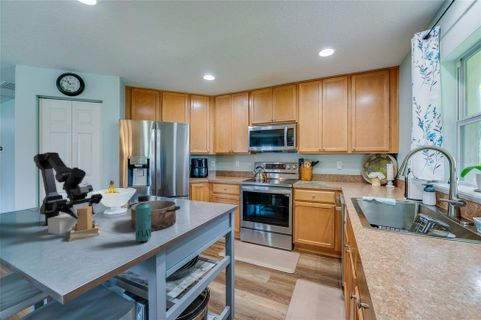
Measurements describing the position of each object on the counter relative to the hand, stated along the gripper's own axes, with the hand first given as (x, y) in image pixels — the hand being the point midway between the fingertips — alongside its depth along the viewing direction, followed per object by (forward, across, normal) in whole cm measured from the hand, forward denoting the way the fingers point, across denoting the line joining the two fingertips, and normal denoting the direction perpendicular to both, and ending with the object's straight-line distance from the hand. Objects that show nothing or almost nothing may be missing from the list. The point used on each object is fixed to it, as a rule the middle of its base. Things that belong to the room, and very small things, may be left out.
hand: (86, 216), depth 94 cm
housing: (+4, +1, +8) cm, 10 cm away
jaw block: (+5, 0, +7) cm, 8 cm away
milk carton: (-7, -7, +15) cm, 18 cm away
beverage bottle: (+28, +8, -15) cm, 32 cm away
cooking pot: (+18, +25, -5) cm, 31 cm away
